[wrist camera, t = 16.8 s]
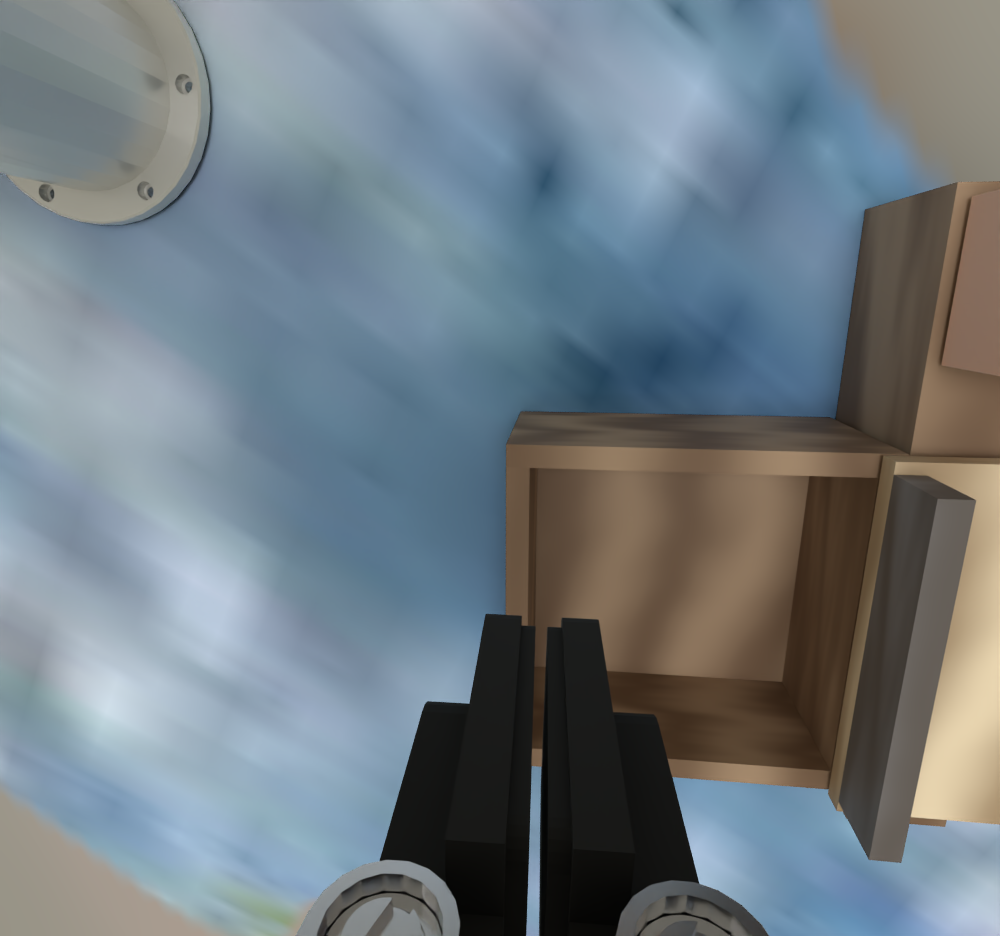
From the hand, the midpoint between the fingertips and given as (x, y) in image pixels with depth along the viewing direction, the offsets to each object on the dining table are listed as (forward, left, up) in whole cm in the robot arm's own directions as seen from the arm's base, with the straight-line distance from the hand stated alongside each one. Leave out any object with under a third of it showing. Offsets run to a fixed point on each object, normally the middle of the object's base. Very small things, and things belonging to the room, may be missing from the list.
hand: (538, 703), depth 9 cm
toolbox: (+8, -4, -26) cm, 27 cm away
